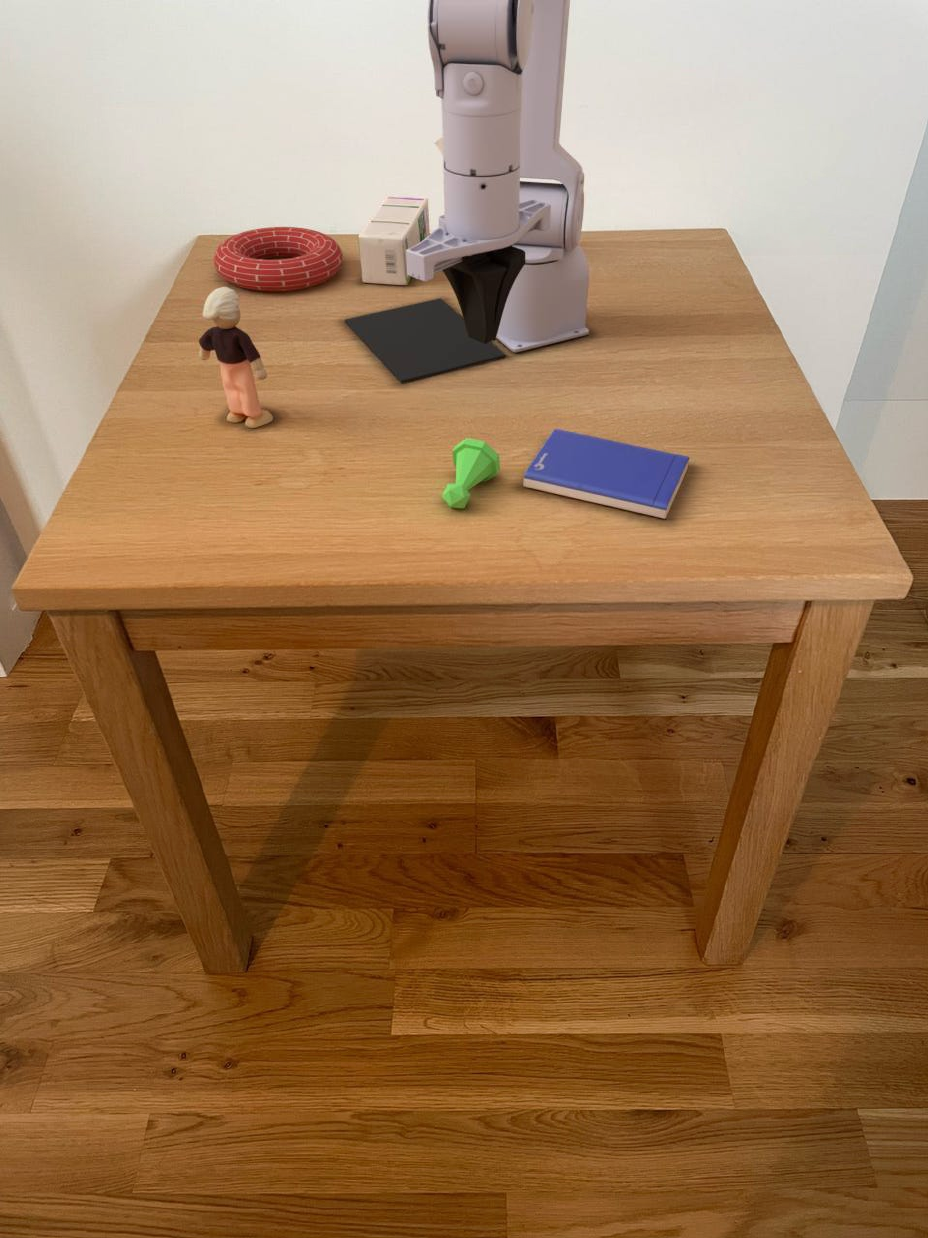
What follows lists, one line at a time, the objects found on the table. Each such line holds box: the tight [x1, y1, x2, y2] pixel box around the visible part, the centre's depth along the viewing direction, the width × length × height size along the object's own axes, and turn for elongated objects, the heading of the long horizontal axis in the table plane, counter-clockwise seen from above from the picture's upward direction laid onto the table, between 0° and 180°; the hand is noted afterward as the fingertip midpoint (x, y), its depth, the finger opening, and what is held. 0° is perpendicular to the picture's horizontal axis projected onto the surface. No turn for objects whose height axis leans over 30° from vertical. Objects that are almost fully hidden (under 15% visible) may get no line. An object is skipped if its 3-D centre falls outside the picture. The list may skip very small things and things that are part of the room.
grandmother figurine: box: [198, 286, 274, 429], centre depth 84 cm, size 8×4×13 cm, turn 71°
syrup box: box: [357, 195, 431, 286], centre depth 114 cm, size 6×6×14 cm
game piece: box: [441, 437, 501, 509], centre depth 77 cm, size 4×4×6 cm
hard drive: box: [522, 428, 690, 520], centre depth 79 cm, size 2×8×12 cm
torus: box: [213, 226, 344, 292], centre depth 113 cm, size 16×14×4 cm
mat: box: [344, 297, 506, 384], centre depth 100 cm, size 12×16×1 cm
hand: (482, 337), depth 77 cm, fingers closed
